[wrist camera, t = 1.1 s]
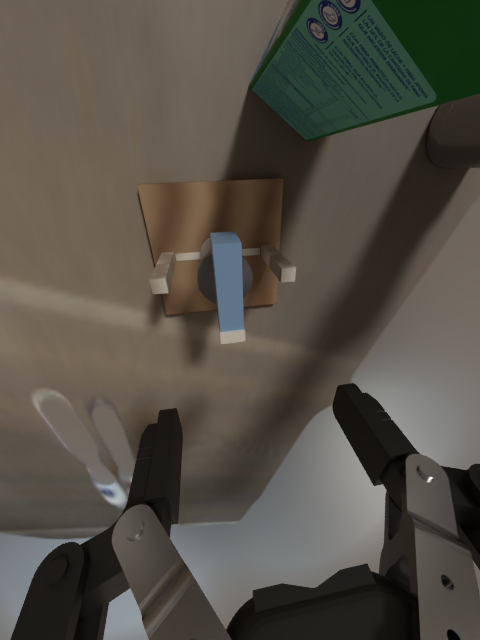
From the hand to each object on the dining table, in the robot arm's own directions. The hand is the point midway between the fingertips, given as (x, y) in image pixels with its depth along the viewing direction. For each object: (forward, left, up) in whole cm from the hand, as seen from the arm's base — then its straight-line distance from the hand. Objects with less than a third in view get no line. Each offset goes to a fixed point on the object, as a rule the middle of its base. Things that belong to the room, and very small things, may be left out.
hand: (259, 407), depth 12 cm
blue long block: (0, 0, -18) cm, 18 cm away
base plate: (0, 0, -28) cm, 28 cm away
